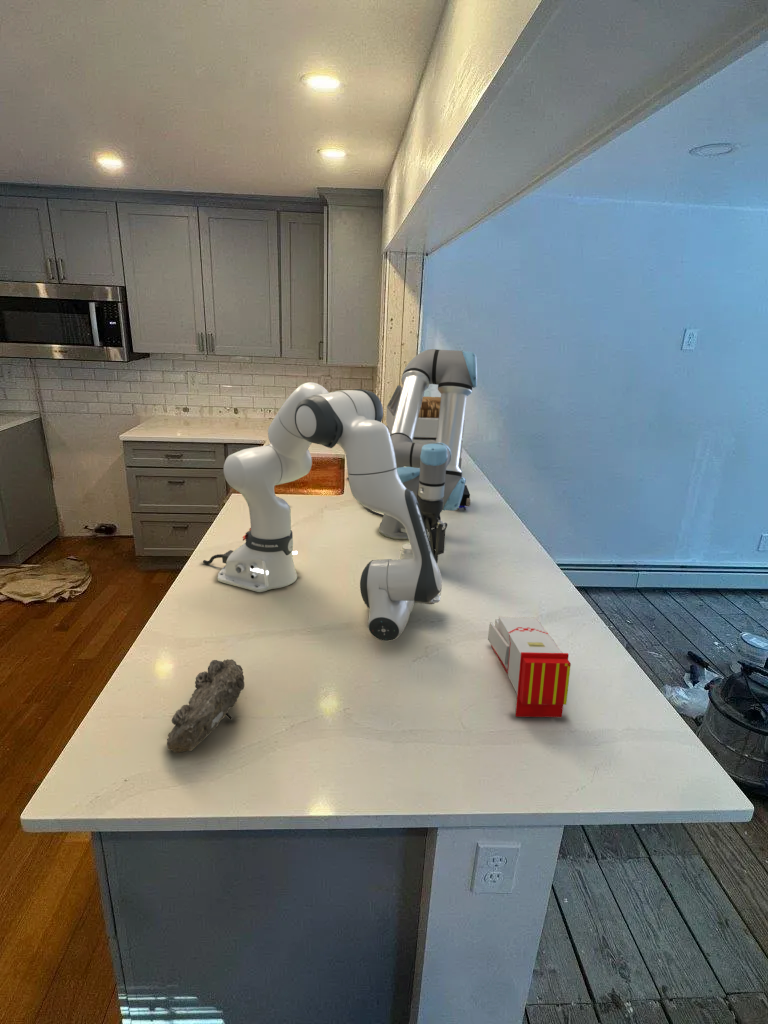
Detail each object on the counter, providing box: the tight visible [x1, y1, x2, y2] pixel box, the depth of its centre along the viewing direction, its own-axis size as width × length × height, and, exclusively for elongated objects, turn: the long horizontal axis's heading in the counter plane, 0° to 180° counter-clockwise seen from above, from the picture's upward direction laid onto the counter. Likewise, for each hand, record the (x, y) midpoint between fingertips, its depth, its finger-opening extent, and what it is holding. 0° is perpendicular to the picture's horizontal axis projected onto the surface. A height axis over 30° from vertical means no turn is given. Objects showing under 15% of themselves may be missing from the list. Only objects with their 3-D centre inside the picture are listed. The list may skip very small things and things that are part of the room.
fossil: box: [166, 658, 245, 754], centre depth 106 cm, size 22×10×15 cm
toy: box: [487, 616, 572, 718], centre depth 123 cm, size 12×13×30 cm
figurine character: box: [456, 484, 471, 512], centre depth 229 cm, size 7×8×15 cm
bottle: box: [399, 543, 414, 559], centre depth 154 cm, size 4×4×15 cm
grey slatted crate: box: [385, 384, 465, 471], centre depth 268 cm, size 34×33×41 cm
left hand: (407, 574), depth 155 cm, fingers closed on bottle, 4 cm apart
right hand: (425, 569), depth 174 cm, fingers closed on lid, 5 cm apart
